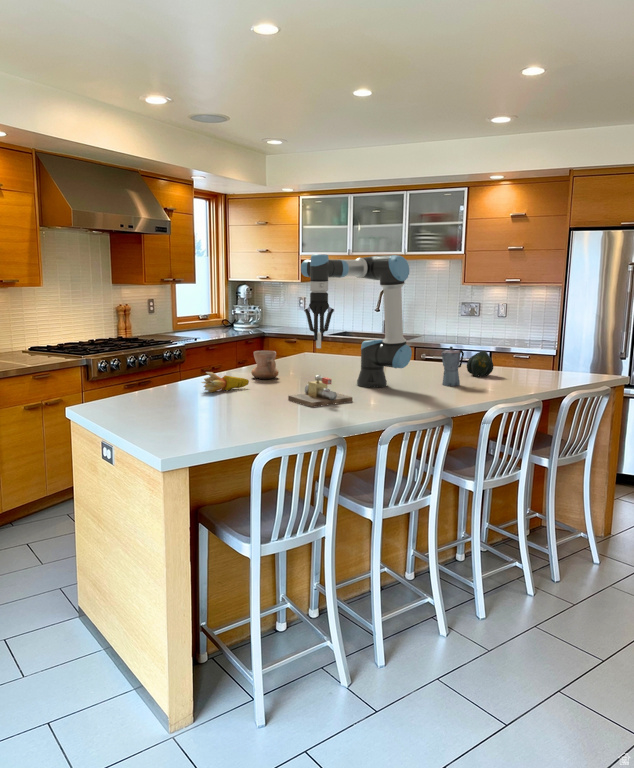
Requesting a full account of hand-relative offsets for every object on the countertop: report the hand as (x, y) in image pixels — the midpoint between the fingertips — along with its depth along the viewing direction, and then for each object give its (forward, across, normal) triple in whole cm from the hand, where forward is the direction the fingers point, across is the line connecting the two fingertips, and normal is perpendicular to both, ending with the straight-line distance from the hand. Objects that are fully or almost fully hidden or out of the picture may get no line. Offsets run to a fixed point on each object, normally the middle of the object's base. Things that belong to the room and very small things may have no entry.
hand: (318, 347), depth 263 cm
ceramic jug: (+25, -12, +69) cm, 74 cm away
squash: (+26, +109, +59) cm, 127 cm away
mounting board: (+24, +2, +6) cm, 25 cm away
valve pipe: (+23, +3, +6) cm, 24 cm away
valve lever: (+15, +3, +3) cm, 16 cm away
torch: (+25, -36, +37) cm, 57 cm away
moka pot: (+25, +80, +34) cm, 90 cm away
